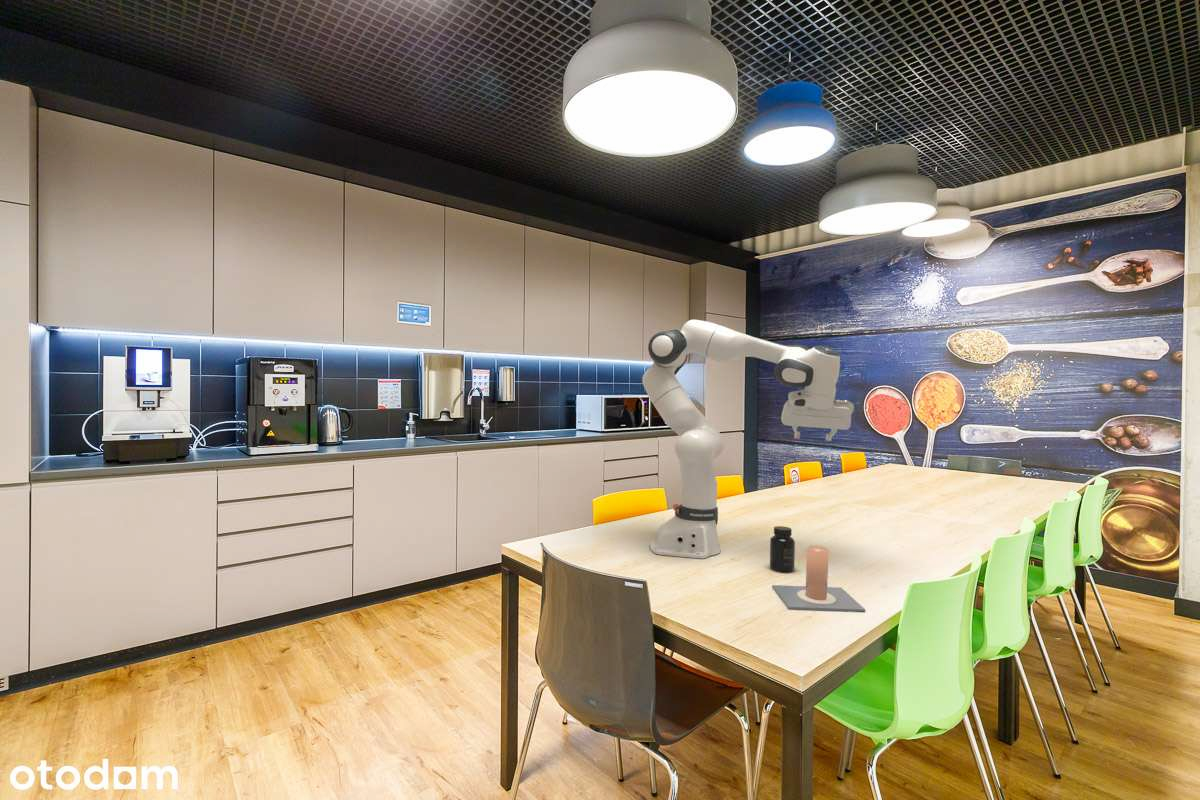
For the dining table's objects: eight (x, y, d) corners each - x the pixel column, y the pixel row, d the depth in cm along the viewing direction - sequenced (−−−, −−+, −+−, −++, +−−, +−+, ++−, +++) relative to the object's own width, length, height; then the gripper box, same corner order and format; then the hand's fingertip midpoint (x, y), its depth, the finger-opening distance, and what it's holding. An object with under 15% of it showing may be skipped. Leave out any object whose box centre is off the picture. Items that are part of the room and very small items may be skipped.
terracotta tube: (806, 598, 135) (808, 550, 135) (804, 591, 140) (806, 545, 140) (827, 601, 134) (829, 552, 134) (825, 594, 139) (827, 547, 138)
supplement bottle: (794, 566, 161) (795, 526, 161) (794, 574, 155) (795, 532, 154) (769, 563, 163) (771, 524, 163) (768, 571, 157) (770, 529, 157)
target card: (788, 609, 130) (788, 606, 130) (772, 587, 144) (772, 584, 144) (865, 612, 130) (865, 609, 130) (841, 589, 144) (841, 587, 144)
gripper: (852, 397, 169) (845, 437, 174) (783, 392, 172) (778, 431, 178) (857, 405, 163) (849, 446, 168) (785, 400, 167) (780, 440, 172)
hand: (812, 438), depth 173 cm, fingers open, 8 cm apart
